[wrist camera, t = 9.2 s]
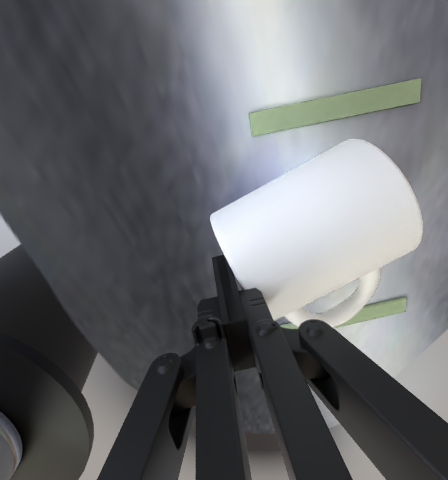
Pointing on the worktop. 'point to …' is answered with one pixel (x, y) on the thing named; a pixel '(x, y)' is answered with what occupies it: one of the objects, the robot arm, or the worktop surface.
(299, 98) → the worktop surface
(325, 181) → the mug
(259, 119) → the strips
